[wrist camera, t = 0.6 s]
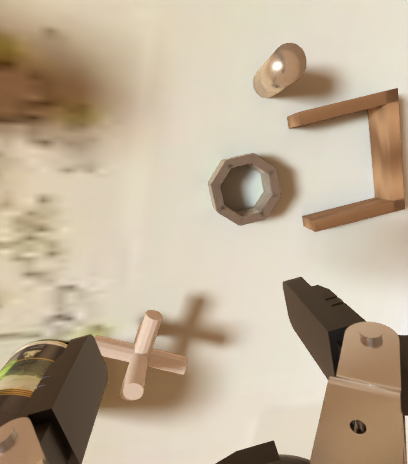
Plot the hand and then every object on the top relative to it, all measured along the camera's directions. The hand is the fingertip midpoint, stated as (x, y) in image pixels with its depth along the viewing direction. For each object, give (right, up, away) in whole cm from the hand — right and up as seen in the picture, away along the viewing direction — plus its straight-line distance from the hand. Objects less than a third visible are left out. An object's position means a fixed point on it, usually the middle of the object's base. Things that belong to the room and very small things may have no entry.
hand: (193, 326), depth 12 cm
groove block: (+15, +12, +21) cm, 28 cm away
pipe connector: (-7, -8, +24) cm, 26 cm away
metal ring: (+5, +9, +20) cm, 23 cm away
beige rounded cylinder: (+7, +19, +18) cm, 28 cm away
